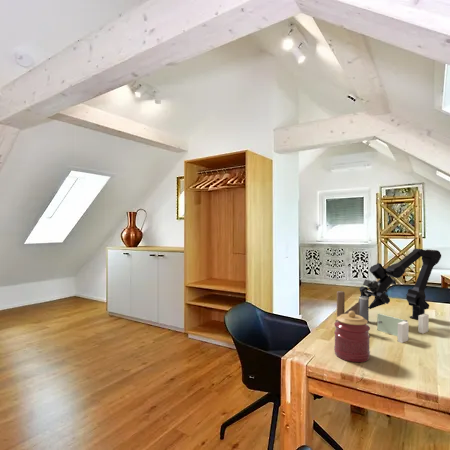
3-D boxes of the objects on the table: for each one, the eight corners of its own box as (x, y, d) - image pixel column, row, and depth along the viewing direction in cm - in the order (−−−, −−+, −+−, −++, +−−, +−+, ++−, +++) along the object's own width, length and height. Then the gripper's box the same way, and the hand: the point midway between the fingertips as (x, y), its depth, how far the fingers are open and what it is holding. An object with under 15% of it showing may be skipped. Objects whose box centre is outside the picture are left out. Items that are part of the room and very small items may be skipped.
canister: (352, 365, 111) (352, 317, 111) (327, 352, 123) (327, 308, 123) (377, 359, 116) (377, 313, 116) (351, 346, 128) (351, 305, 128)
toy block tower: (357, 332, 145) (357, 295, 145) (335, 327, 152) (335, 291, 152) (359, 330, 148) (360, 293, 148) (338, 325, 155) (338, 290, 155)
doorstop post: (362, 319, 165) (362, 295, 165) (370, 321, 161) (370, 297, 161) (357, 321, 162) (357, 296, 162) (365, 323, 159) (365, 298, 159)
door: (407, 338, 138) (408, 320, 138) (404, 339, 136) (404, 321, 136) (379, 329, 149) (379, 313, 149) (375, 330, 148) (375, 314, 148)
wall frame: (423, 329, 149) (424, 313, 149) (428, 331, 147) (428, 314, 147) (397, 341, 134) (397, 323, 134) (402, 342, 133) (402, 324, 133)
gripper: (362, 271, 172) (344, 291, 170) (385, 277, 154) (365, 300, 152) (374, 285, 173) (356, 305, 171) (398, 292, 155) (379, 315, 153)
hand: (363, 306), depth 162 cm, fingers open, 9 cm apart
